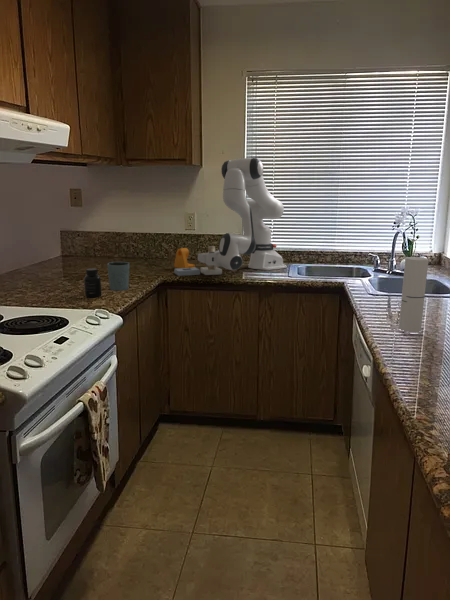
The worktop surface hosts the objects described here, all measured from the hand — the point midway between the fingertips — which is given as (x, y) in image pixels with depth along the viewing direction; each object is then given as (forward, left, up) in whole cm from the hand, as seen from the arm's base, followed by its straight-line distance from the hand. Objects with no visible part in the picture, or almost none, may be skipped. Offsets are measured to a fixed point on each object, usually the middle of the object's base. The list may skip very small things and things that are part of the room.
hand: (210, 254), depth 267 cm
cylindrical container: (-30, +123, -10) cm, 127 cm away
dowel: (0, +1, -9) cm, 9 cm away
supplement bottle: (+66, +37, -10) cm, 76 cm away
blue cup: (+53, +25, -10) cm, 59 cm away
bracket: (+10, -16, -10) cm, 22 cm away
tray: (0, +1, -10) cm, 10 cm away
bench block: (+13, -1, -10) cm, 16 cm away
